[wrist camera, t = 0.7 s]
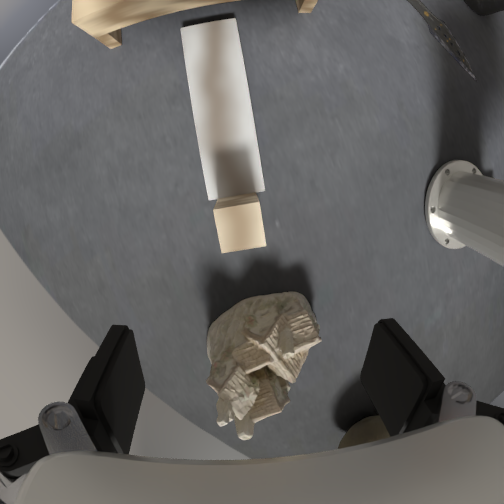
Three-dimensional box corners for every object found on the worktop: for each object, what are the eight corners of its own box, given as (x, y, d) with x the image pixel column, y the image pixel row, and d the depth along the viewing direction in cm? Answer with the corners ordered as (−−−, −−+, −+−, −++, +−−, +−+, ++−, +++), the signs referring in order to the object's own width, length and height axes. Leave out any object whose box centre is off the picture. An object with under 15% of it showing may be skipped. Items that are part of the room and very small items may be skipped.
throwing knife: (394, -28, 23) (396, -30, 22) (481, 76, 28) (484, 75, 27) (378, -19, 24) (380, -21, 23) (470, 89, 29) (473, 89, 28)
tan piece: (235, 24, 26) (235, -7, 19) (268, 222, 34) (277, 244, 27) (183, 34, 26) (169, 5, 19) (216, 231, 34) (210, 255, 27)
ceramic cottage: (232, 397, 43) (238, 474, 29) (189, 313, 38) (174, 389, 24) (327, 366, 43) (362, 436, 29) (302, 274, 38) (344, 335, 24)
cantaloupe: (408, 399, 47) (439, 455, 32) (370, 442, 51) (390, 495, 37) (351, 395, 45) (378, 464, 30) (314, 441, 49) (328, 503, 35)
